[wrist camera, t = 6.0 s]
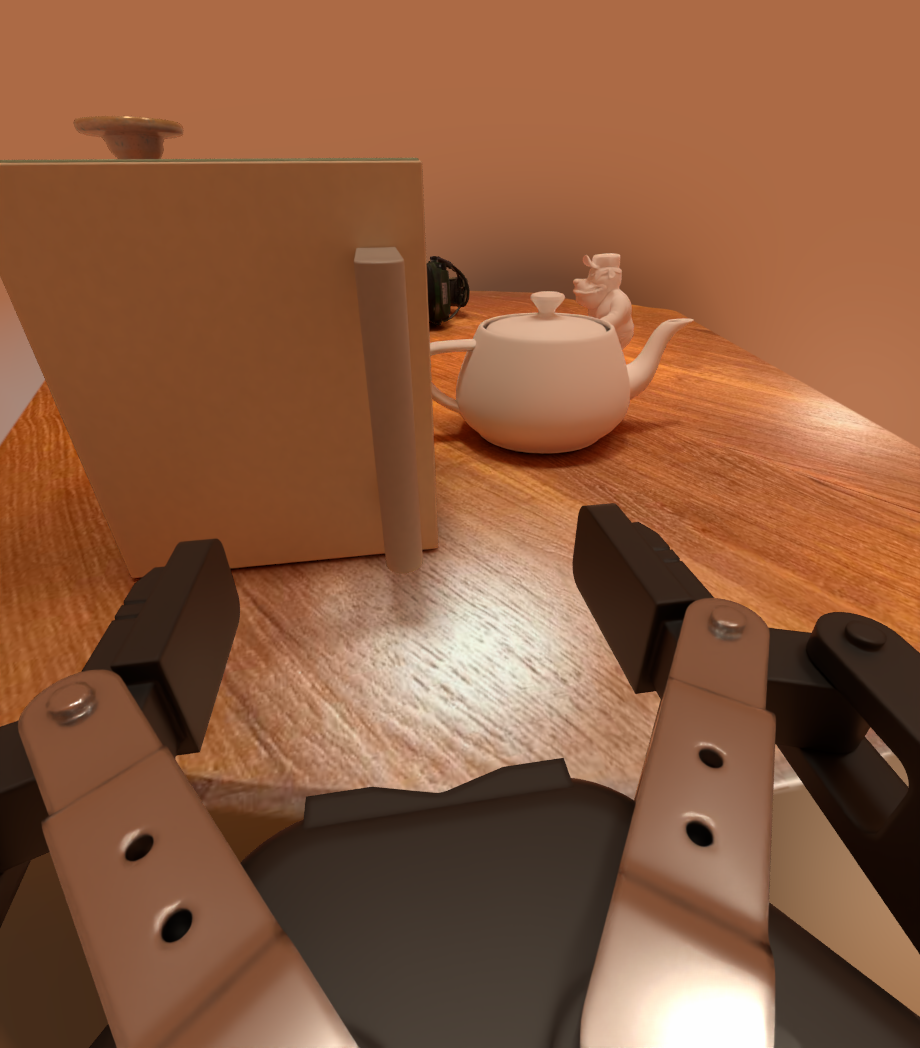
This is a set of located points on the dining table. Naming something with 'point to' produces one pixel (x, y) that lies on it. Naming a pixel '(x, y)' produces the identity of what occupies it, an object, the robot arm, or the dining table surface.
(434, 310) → the headphones
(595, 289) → the figurine
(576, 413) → the teapot
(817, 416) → the dining table surface
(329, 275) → the peach cabinet door
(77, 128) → the candle holder
